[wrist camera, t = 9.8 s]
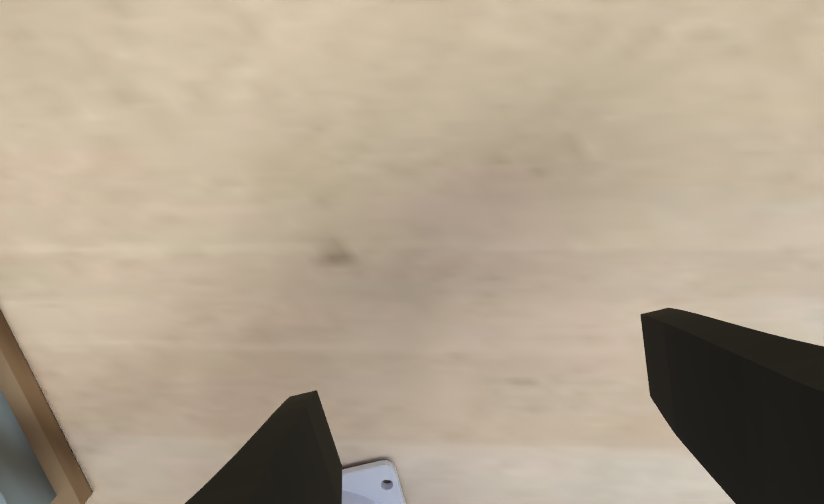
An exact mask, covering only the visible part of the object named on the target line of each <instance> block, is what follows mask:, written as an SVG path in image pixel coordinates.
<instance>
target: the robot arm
mask: <svg viewBox="0 0 824 504" xmlns="http://www.w3.org/2000/svg"><path fill="white" fill-rule="evenodd" d="M641 322H642V331H643V339H644V348H645V356H646V365H647V373H648V381H649V390H650V396H651V398H652V400H653V401H654V403H655V404H656V406H657V407H658V409H659V411H660V412H661V414H662V415H663V417H664V418H665V420H666V421H667V423H668V424H669V426H670V427H671V429H672V430H673V431H674V433H675V434H676V436H677V437H678V438H679V439H680V440H681V441H682V443H683V444H684V445H685V446H686V447H687V449H688V450H689V451H690V452H691V453H692V454H693V455H694V457H695V458H696V459H697V460H698V461H699V462H700V464H701V465H702V466H703V467H704V468H705V469H706V470H707V472H708V473H709V474H710V475H711V476H712V477H713V478H714V480H715V481H716V482H717V483H718V484H719V485H720V486H721V487H722V489H723V490H724V491H725V492H726V493H727V494H728V495H729V497H730V498H731V499H732V500H733V501H734V502H735V503H736V504H824V347H823V346H818V345H814V344H810V343H805V342H801V341H796V340H792V339H788V338H784V337H780V336H776V335H772V334H768V333H764V332H761V331H757V330H753V329H750V328H746V327H742V326H739V325H735V324H731V323H728V322H724V321H721V320H717V319H714V318H710V317H706V316H703V315H699V314H695V313H691V312H687V311H683V310H678V309H673V308H666V309H662V310H657V311H653V312H649V313H645V314H641ZM384 480H390V481H392V482H390V483H383V482H382V481H384ZM185 504H406V502H405V498H404V495H403V491H402V488H401V485H400V481H399V478H398V474H397V471H396V468H395V466H394V464H393V463H392V462H390V461H387V460H381V461H377V462H372V463H368V464H364V465H359V466H355V467H351V468H346V469H342V465H341V462H340V459H339V456H338V453H337V450H336V447H335V444H334V441H333V438H332V435H331V432H330V429H329V426H328V423H327V420H326V417H325V414H324V411H323V408H322V404H321V401H320V398H319V395H318V392H317V391H312V392H308V393H304V394H300V395H295V396H291V397H289V398H288V399H287V400H286V401H285V402H284V403H283V404H282V405H281V406H280V407H279V408H278V409H277V410H276V411H275V412H274V413H273V414H272V415H271V417H270V418H269V419H268V420H267V421H266V422H265V423H264V424H263V425H262V426H261V428H260V429H259V430H258V431H257V432H256V433H255V434H254V435H253V436H252V437H251V438H250V439H249V441H248V442H247V443H246V444H245V445H244V446H243V447H242V448H241V449H240V450H239V451H238V452H237V454H236V455H235V456H234V457H233V458H232V459H231V460H230V461H229V462H228V463H227V464H226V465H225V466H224V467H223V468H222V469H221V470H220V471H219V472H218V473H217V474H216V475H215V476H214V477H213V478H212V479H211V480H210V481H209V482H208V483H207V484H206V485H205V486H204V487H203V488H201V489H200V490H199V491H198V492H197V493H196V494H195V495H194V496H193V497H192V498H191V499H189V500H188V501H187V502H186V503H185Z"/></svg>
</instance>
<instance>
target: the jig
mask: <svg viewBox="0 0 824 504" xmlns="http://www.w3.org/2000/svg"><path fill="white" fill-rule="evenodd" d="M91 494H92V491H91V489H90V487H89V485H88V483H87V481H86V479H85V477H84V475H83V473H82V471H81V469H80V467H79V465H78V463H77V461H76V459H75V457H74V455H73V453H72V451H71V449H70V447H69V445H68V443H67V441H66V439H65V437H64V435H63V433H62V431H61V429H60V427H59V425H58V423H57V422H56V420H55V418H54V416H53V414H52V412H51V410H50V408H49V406H48V404H47V402H46V400H45V398H44V396H43V394H42V392H41V390H40V388H39V386H38V384H37V382H36V380H35V378H34V376H33V374H32V372H31V370H30V368H29V366H28V364H27V362H26V360H25V358H24V356H23V354H22V352H21V350H20V348H19V346H18V344H17V342H16V340H15V338H14V336H13V334H12V332H11V330H10V328H9V326H8V325H7V323H6V321H5V319H4V317H3V315H2V313H1V311H0V504H85V502H86V501H87V500H88V498H89V497H90V496H91Z"/></svg>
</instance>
